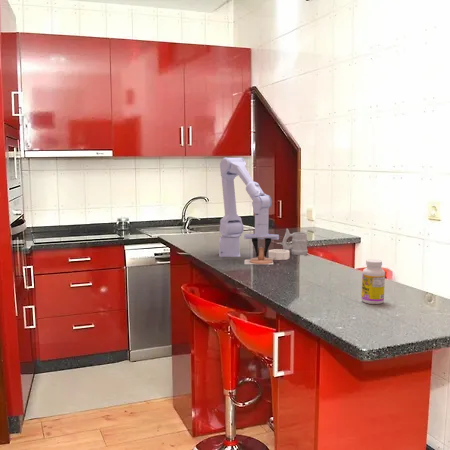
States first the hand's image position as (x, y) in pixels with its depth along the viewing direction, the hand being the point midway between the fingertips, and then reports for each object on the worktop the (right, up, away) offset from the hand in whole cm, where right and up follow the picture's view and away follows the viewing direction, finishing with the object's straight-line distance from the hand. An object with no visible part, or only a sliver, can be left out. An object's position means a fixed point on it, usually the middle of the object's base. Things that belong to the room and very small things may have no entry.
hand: (261, 256), depth 232 cm
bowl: (+8, -2, +10) cm, 13 cm away
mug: (+17, -1, +22) cm, 27 cm away
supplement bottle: (+30, -11, -63) cm, 71 cm away
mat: (-1, -3, 0) cm, 3 cm away
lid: (0, -2, 0) cm, 2 cm away
